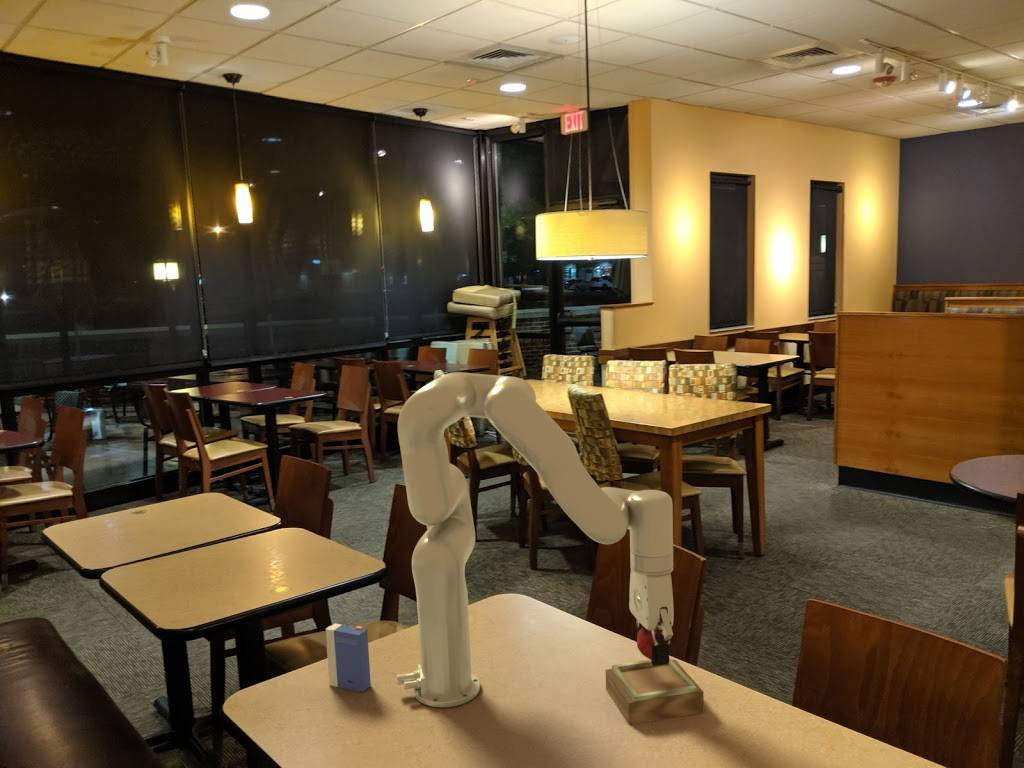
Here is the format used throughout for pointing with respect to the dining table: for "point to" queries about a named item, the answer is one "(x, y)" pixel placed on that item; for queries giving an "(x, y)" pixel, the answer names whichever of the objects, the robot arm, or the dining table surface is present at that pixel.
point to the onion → (646, 641)
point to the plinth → (653, 691)
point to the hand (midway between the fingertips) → (653, 654)
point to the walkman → (348, 657)
